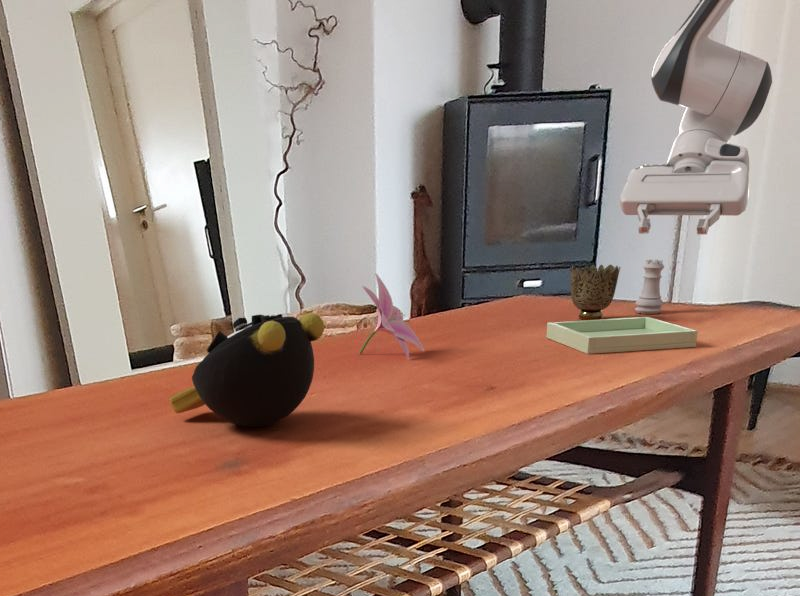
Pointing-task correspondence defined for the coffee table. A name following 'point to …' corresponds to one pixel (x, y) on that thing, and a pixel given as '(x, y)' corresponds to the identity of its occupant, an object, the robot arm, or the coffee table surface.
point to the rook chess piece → (651, 289)
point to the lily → (391, 319)
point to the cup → (593, 289)
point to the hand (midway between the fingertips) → (671, 231)
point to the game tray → (621, 335)
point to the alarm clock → (255, 370)
